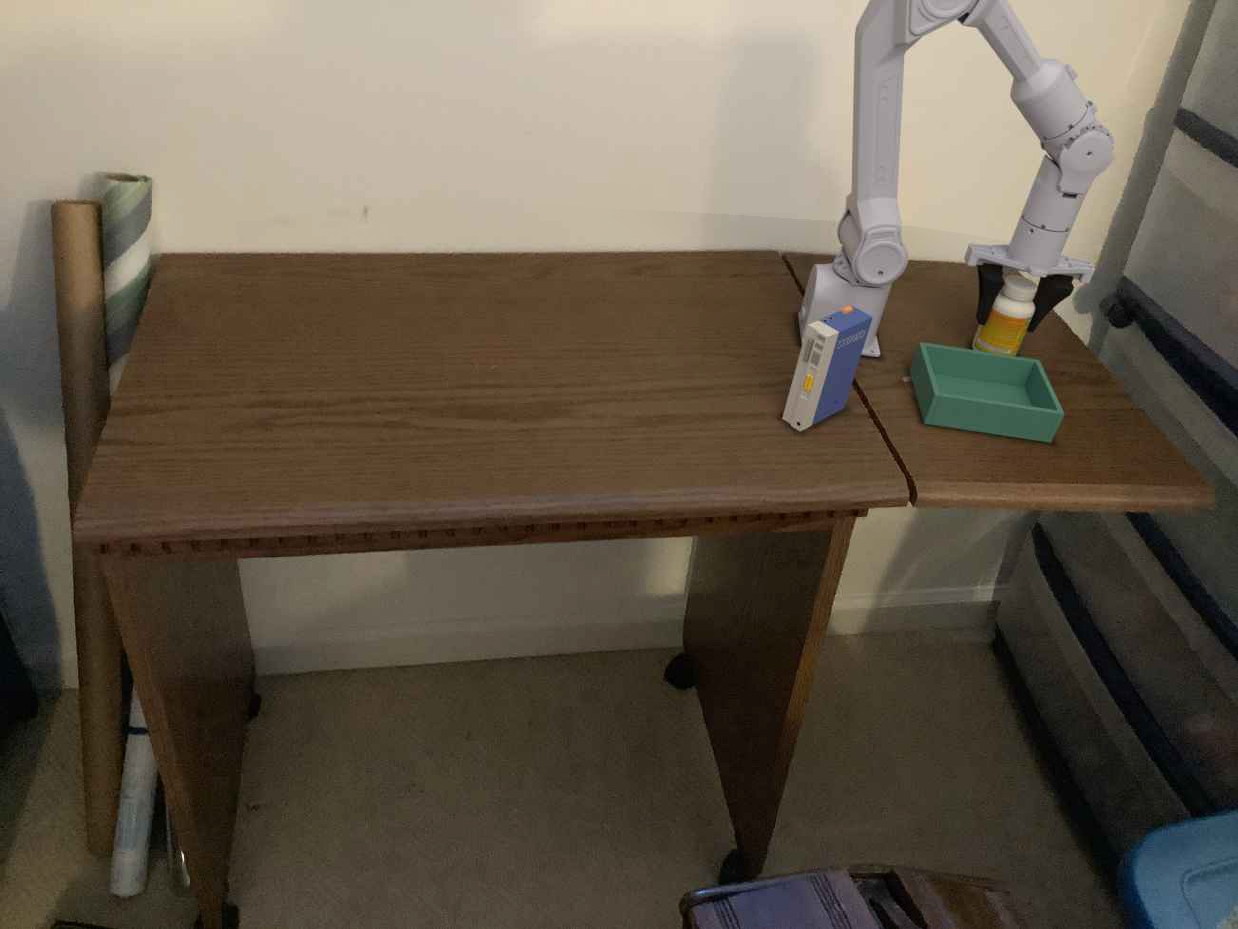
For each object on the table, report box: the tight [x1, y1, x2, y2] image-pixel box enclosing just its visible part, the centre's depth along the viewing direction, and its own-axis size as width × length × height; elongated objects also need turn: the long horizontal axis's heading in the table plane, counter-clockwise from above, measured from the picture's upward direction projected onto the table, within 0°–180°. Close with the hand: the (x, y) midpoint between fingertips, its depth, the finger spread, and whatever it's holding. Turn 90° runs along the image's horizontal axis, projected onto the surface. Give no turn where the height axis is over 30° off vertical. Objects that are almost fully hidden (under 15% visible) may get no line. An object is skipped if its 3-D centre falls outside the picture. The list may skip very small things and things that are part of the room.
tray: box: [908, 341, 1065, 444], centre depth 115 cm, size 14×11×4 cm
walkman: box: [781, 306, 873, 432], centre depth 106 cm, size 8×3×12 cm, turn 133°
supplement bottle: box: [971, 274, 1038, 357], centre depth 123 cm, size 5×5×10 cm
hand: (1004, 324), depth 124 cm, fingers closed on supplement bottle, 5 cm apart
